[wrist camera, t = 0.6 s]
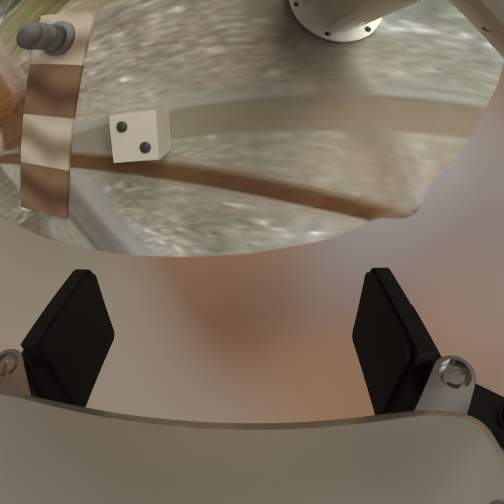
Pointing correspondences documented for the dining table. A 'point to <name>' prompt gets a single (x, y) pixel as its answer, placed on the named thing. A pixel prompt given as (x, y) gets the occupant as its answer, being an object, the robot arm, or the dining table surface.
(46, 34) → the pawn
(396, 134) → the dining table surface
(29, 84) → the game board
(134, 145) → the die
